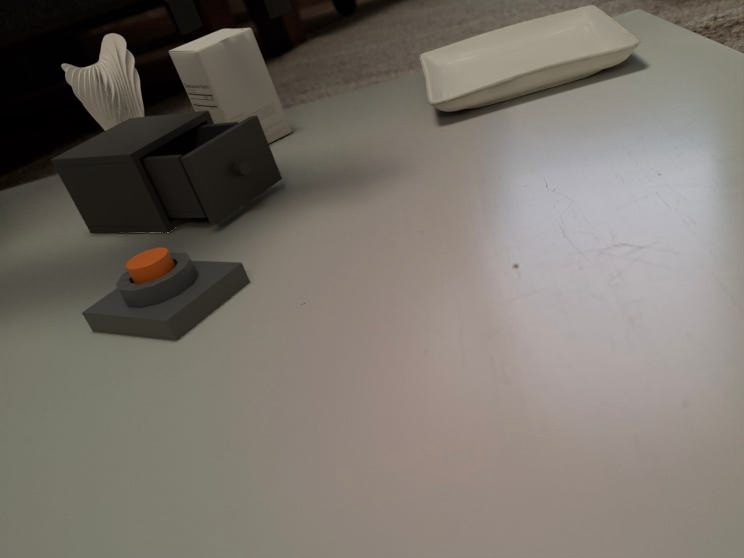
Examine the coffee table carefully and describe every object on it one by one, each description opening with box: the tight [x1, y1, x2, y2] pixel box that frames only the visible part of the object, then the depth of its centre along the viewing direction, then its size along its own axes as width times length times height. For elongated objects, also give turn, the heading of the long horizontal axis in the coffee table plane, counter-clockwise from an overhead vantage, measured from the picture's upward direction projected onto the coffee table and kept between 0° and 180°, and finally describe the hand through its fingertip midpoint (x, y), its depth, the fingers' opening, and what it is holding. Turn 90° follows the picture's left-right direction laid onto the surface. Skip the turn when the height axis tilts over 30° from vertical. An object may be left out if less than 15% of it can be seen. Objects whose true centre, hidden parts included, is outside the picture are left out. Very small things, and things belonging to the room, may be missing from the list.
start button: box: [125, 247, 175, 284], centre depth 78 cm, size 4×4×2 cm
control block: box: [81, 252, 251, 341], centre depth 79 cm, size 12×10×4 cm
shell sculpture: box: [61, 32, 146, 131], centre depth 124 cm, size 8×8×18 cm
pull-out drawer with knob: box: [140, 116, 283, 225], centre depth 99 cm, size 15×12×8 cm
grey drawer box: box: [50, 111, 214, 234], centre depth 103 cm, size 15×13×10 cm
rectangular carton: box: [168, 27, 293, 145], centre depth 118 cm, size 9×9×15 cm
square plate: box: [419, 4, 641, 113], centre depth 116 cm, size 27×27×4 cm
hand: (235, 23), depth 90 cm, fingers open, 13 cm apart
